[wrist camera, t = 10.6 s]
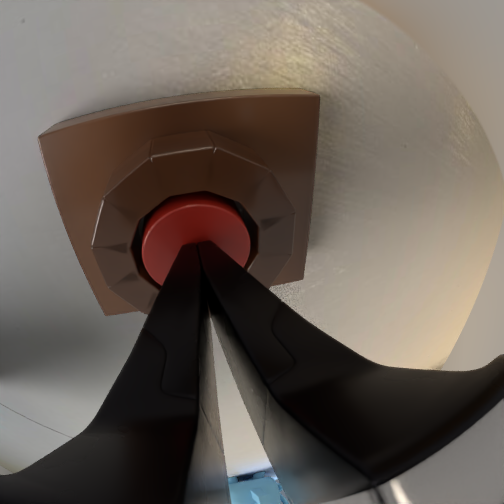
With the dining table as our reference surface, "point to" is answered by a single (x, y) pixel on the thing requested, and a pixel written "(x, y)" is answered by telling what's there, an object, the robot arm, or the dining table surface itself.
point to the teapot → (256, 490)
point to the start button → (192, 229)
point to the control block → (185, 180)
